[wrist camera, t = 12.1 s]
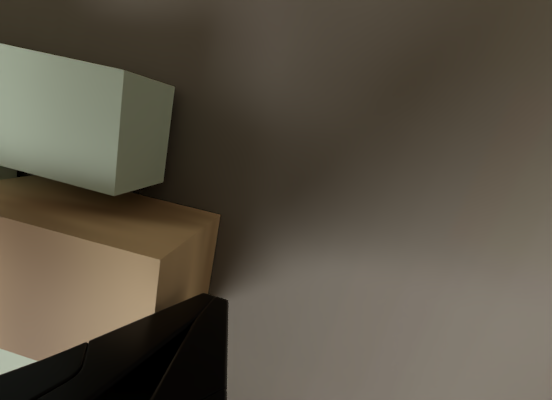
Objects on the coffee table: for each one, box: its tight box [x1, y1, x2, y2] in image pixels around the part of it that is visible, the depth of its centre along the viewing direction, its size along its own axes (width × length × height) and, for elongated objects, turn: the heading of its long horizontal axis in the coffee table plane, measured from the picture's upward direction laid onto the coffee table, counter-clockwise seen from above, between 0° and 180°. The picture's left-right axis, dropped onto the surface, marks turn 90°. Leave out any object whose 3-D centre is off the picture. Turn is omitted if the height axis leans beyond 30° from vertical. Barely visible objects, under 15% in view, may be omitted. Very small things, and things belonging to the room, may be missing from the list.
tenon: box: [0, 175, 221, 361], centre depth 9 cm, size 7×4×4 cm, turn 79°
